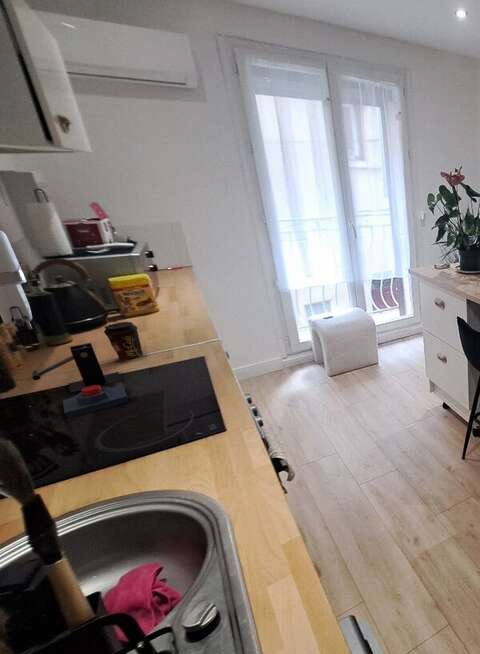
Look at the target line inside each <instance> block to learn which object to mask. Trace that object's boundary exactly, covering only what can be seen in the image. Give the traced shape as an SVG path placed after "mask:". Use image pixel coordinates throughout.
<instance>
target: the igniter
mask: <svg viewBox="0 0 480 654" xmlns="http://www.w3.org/2000/svg"><path fill="white" fill-rule="evenodd" d="M100 387H101V390H102V392H101V393H98V394H95V395H91V396H84V395H83V393H82V391H80V392H79V393H78V394H76V395H75V396H74V397H70V398H66V399H62V406H63V413H64V416H65V417H66V419H71V418H75V417H78V416H83V415H86V414H90V413H93V412H97V411H100V410H104V409H109V408H111V407H116V406H119V405H122V404H123V405H124V404H126V403H129V402H130V401H129V398H128V396H127V394H126V392H125V389H124V386H123V385H122V384H121V385H118V386H114V387H110V388H109V387H108V386H107V387H106V386H100Z"/></svg>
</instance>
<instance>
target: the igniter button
mask: <svg viewBox="0 0 480 654" xmlns="http://www.w3.org/2000/svg"><path fill="white" fill-rule="evenodd" d="M101 387H102V386H100V385H93V386H88V387H85V388H83V389H82V390H81V391H80V392H82V393H83V395H84V396H91V395H95V394H98V393H101V392H102V390H101Z"/></svg>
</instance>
